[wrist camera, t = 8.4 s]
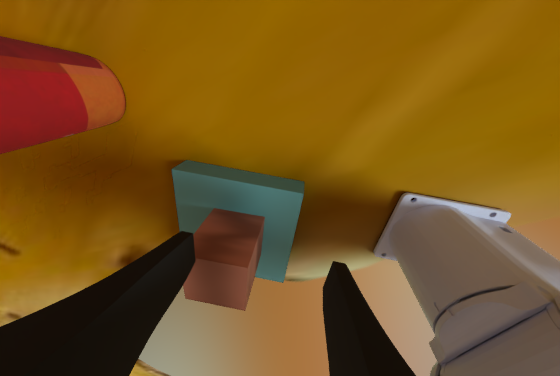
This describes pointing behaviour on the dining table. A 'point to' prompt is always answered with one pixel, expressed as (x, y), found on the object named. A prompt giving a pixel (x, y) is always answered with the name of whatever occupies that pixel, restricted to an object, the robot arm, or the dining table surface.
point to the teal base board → (242, 206)
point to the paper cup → (53, 94)
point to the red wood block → (225, 258)
